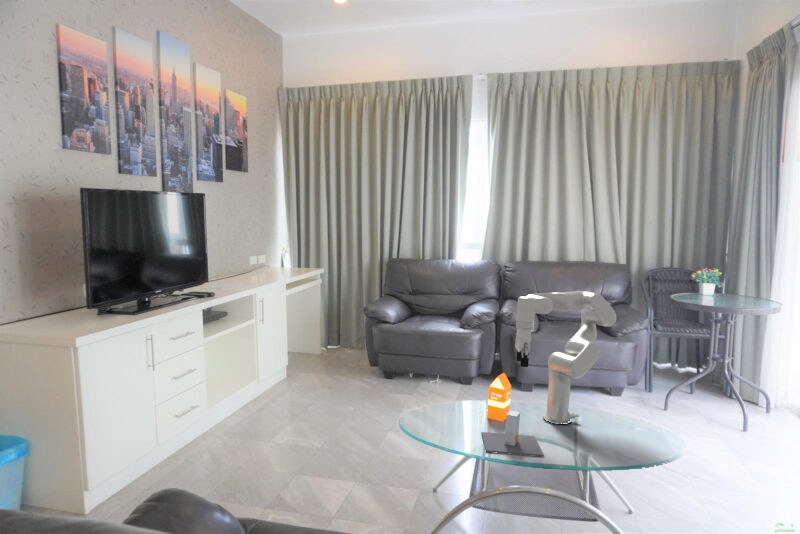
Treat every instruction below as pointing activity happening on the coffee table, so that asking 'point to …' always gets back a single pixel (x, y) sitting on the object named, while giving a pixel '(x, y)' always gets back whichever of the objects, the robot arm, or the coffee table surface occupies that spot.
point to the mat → (523, 445)
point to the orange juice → (499, 398)
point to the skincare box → (512, 428)
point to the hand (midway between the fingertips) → (522, 363)
